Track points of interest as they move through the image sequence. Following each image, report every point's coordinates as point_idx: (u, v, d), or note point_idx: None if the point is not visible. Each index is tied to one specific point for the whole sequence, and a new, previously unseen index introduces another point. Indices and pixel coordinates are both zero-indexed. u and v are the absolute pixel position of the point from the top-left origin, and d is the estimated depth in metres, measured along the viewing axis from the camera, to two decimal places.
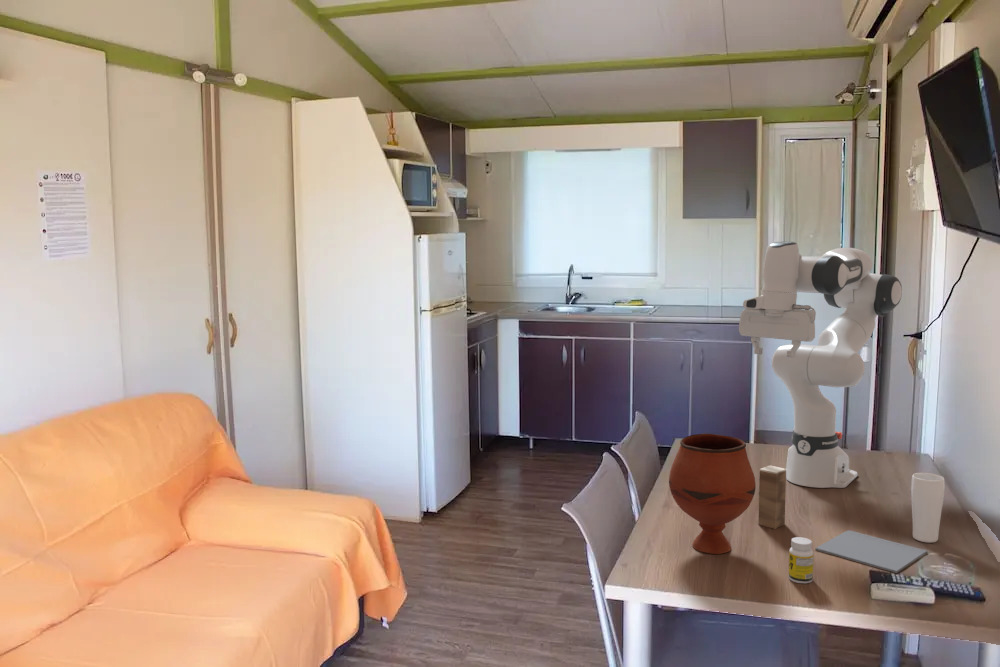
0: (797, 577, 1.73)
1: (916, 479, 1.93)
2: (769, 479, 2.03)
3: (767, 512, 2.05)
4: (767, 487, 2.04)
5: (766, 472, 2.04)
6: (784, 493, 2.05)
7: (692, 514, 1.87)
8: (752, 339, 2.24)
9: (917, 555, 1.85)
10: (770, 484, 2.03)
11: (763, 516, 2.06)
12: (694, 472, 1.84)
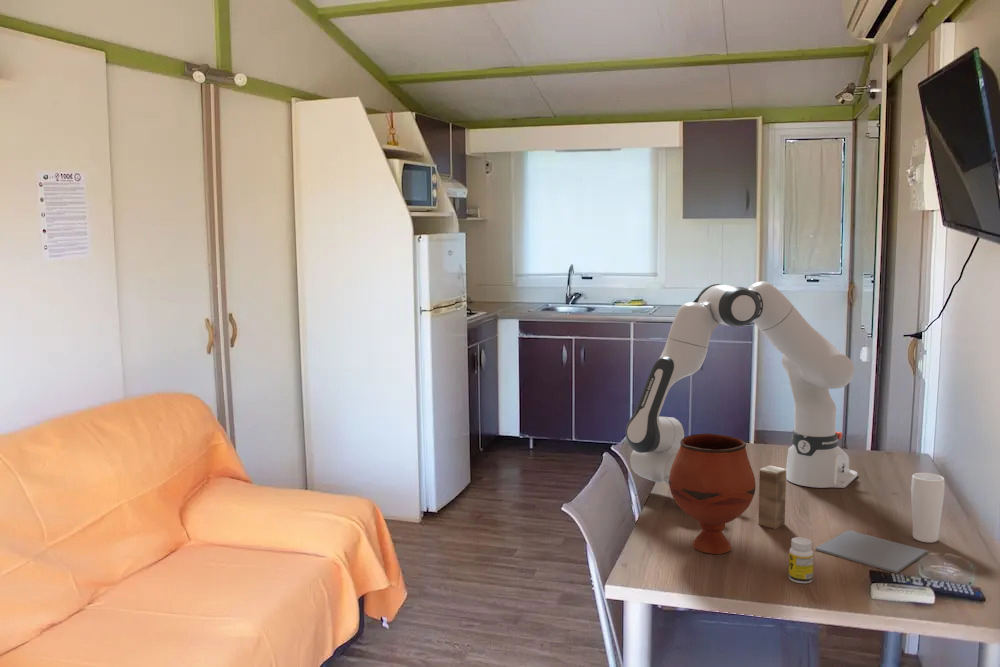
0: (797, 577, 1.73)
1: (916, 479, 1.93)
2: (768, 479, 2.03)
3: (767, 512, 2.05)
4: (767, 487, 2.04)
5: (766, 472, 2.04)
6: (784, 493, 2.05)
7: (692, 514, 1.87)
8: None
9: (917, 555, 1.85)
10: (770, 484, 2.03)
11: (763, 516, 2.06)
12: (694, 472, 1.84)
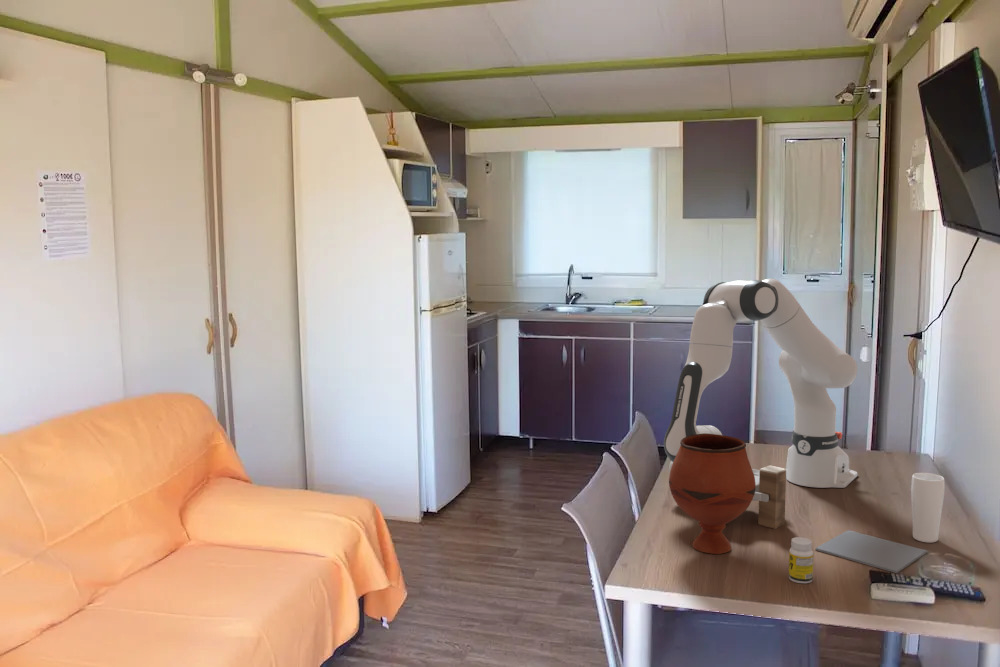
0: (797, 577, 1.73)
1: (916, 479, 1.93)
2: (768, 479, 2.03)
3: (767, 512, 2.05)
4: (767, 487, 2.04)
5: (766, 471, 2.04)
6: (784, 493, 2.05)
7: (692, 514, 1.87)
8: None
9: (917, 555, 1.85)
10: (770, 484, 2.03)
11: (763, 516, 2.06)
12: (694, 472, 1.84)
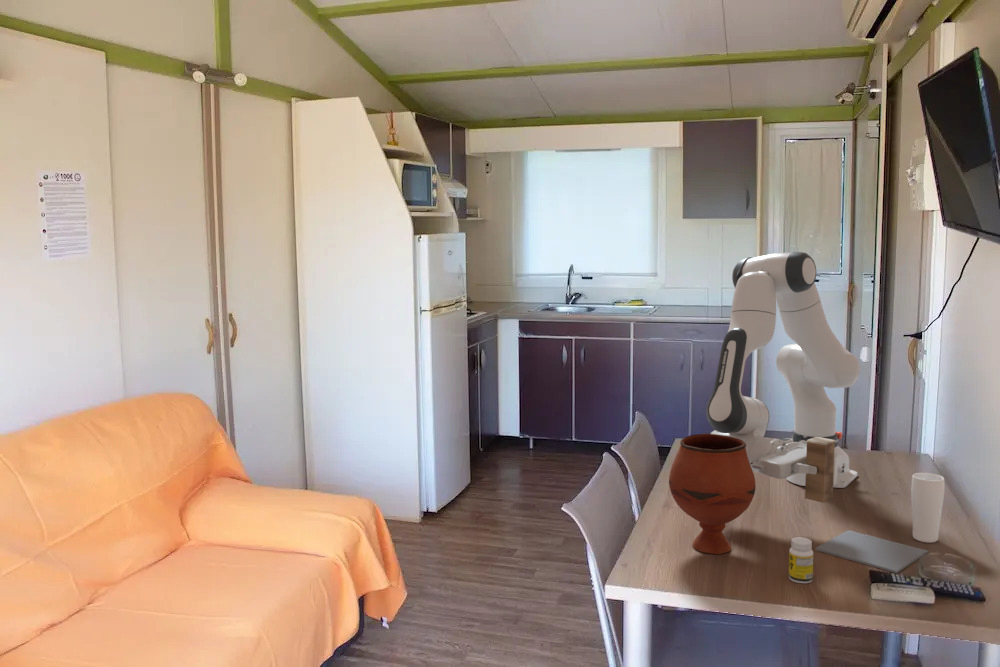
0: (797, 577, 1.73)
1: (916, 479, 1.93)
2: (817, 450, 1.94)
3: (815, 485, 1.95)
4: (815, 459, 1.94)
5: (814, 443, 1.94)
6: (832, 465, 1.95)
7: (692, 514, 1.87)
8: None
9: (917, 555, 1.85)
10: (818, 456, 1.93)
11: (810, 490, 1.96)
12: (694, 472, 1.84)
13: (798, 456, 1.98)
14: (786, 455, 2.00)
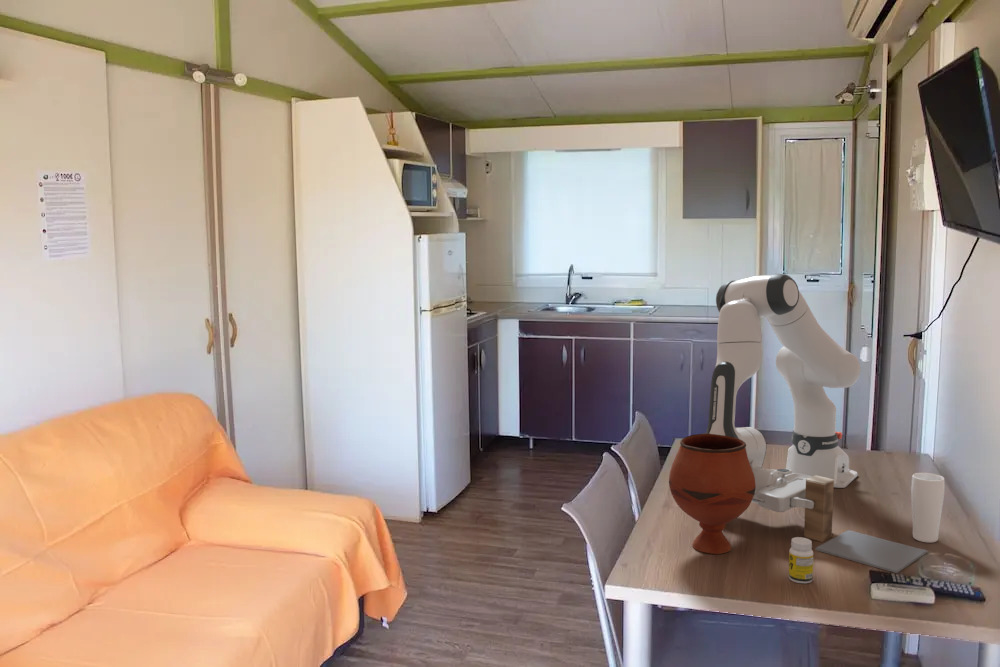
0: (797, 577, 1.73)
1: (916, 479, 1.93)
2: (815, 490, 1.95)
3: (814, 524, 1.96)
4: (814, 498, 1.95)
5: (813, 482, 1.95)
6: (831, 504, 1.96)
7: (692, 514, 1.87)
8: None
9: (917, 555, 1.85)
10: (817, 495, 1.94)
11: (809, 528, 1.97)
12: (694, 472, 1.84)
13: (797, 489, 1.99)
14: (785, 487, 2.00)
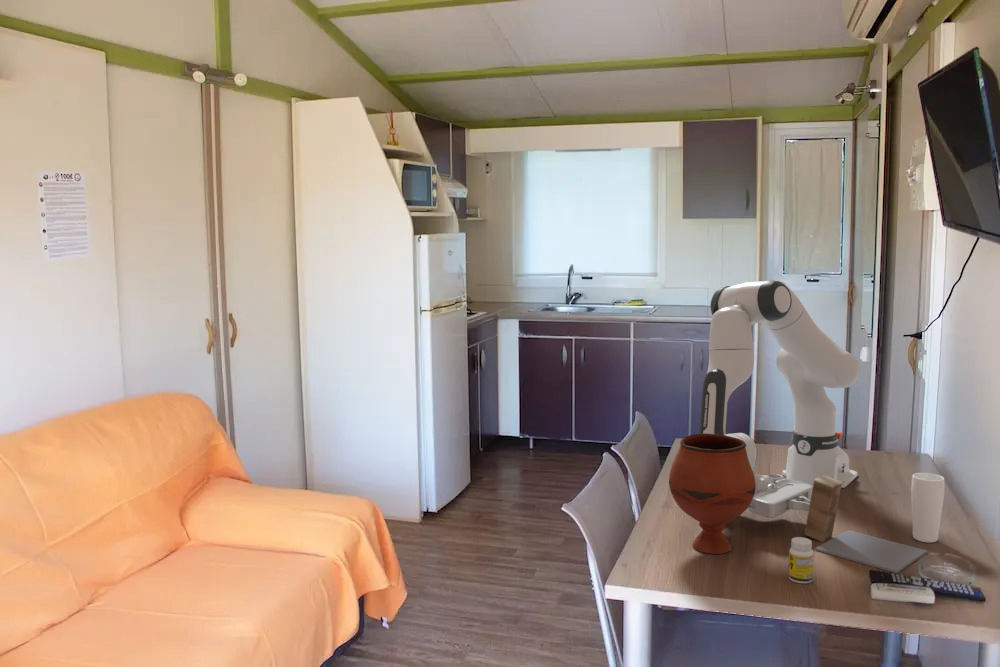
0: (797, 577, 1.73)
1: (916, 479, 1.93)
2: (823, 491, 1.93)
3: (816, 524, 1.95)
4: (820, 499, 1.94)
5: (821, 483, 1.93)
6: (836, 506, 1.96)
7: (692, 514, 1.87)
8: None
9: (917, 555, 1.85)
10: (824, 496, 1.93)
11: (811, 527, 1.96)
12: (694, 472, 1.84)
13: (788, 494, 2.01)
14: (776, 493, 2.02)
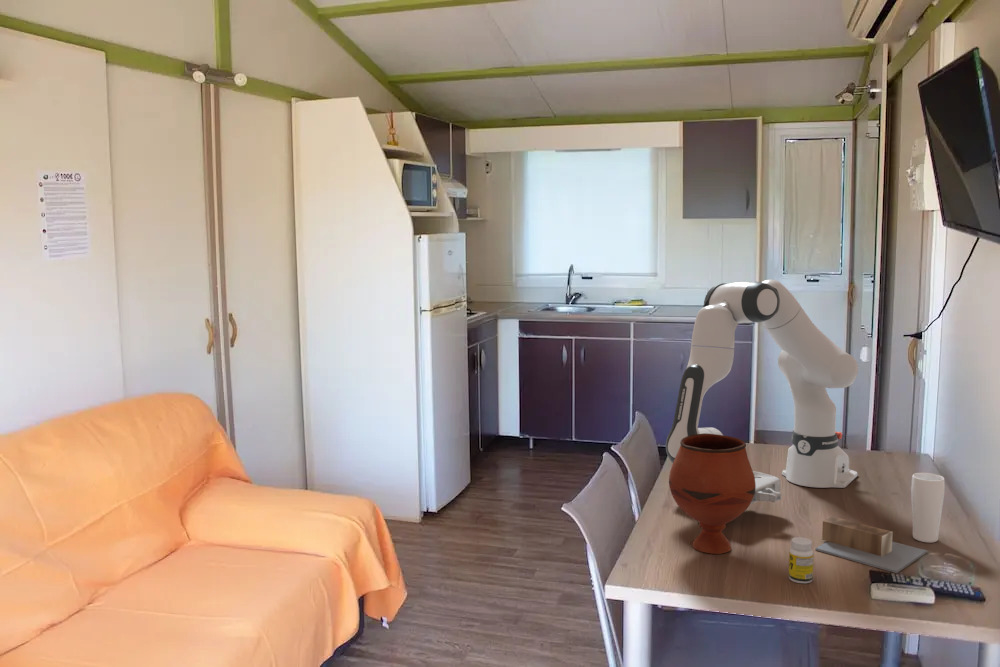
0: (797, 577, 1.73)
1: (916, 479, 1.93)
2: (873, 545, 1.86)
3: (837, 534, 1.92)
4: (864, 541, 1.87)
5: (881, 544, 1.84)
6: None
7: (692, 514, 1.87)
8: None
9: (917, 555, 1.85)
10: (868, 546, 1.87)
11: (832, 529, 1.93)
12: (694, 472, 1.84)
13: None
14: None
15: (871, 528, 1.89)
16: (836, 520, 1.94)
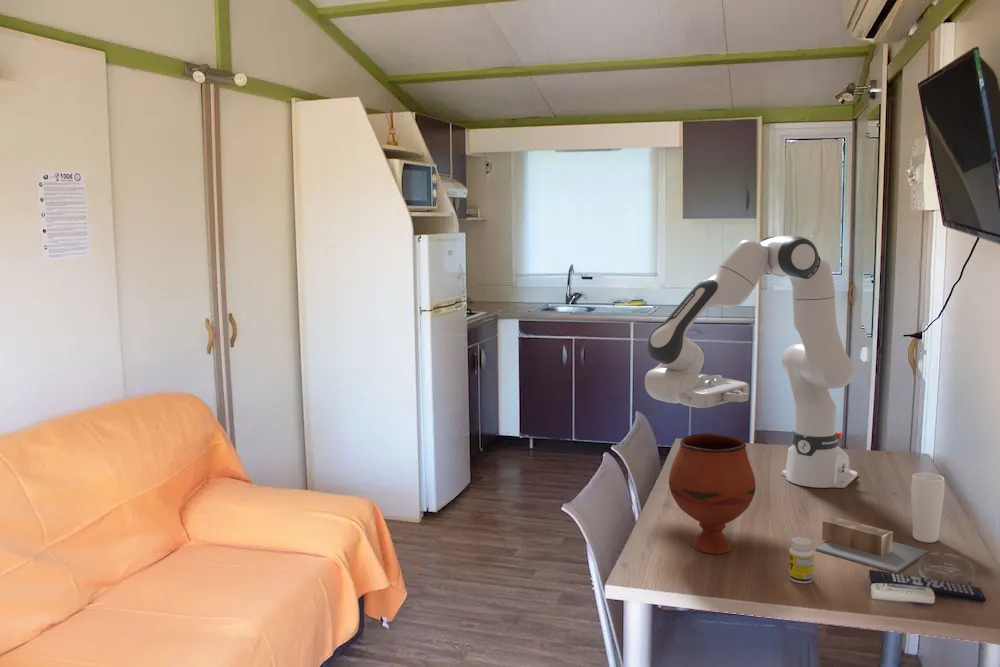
0: (797, 577, 1.73)
1: (916, 479, 1.93)
2: (873, 545, 1.86)
3: (837, 534, 1.92)
4: (864, 541, 1.87)
5: (881, 544, 1.84)
6: None
7: (692, 514, 1.87)
8: None
9: (917, 555, 1.85)
10: (868, 546, 1.87)
11: (832, 529, 1.93)
12: (694, 472, 1.84)
13: (723, 388, 2.14)
14: (712, 388, 2.15)
15: (871, 528, 1.89)
16: (836, 520, 1.94)
